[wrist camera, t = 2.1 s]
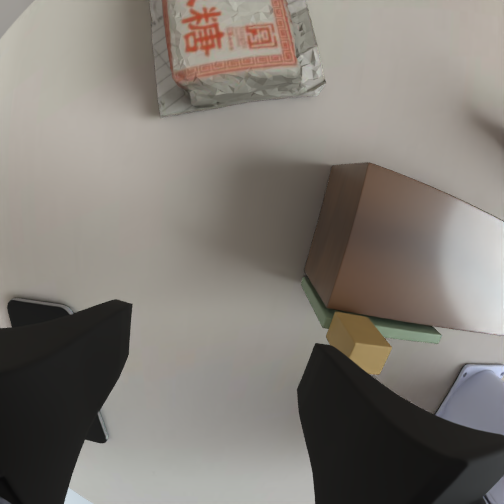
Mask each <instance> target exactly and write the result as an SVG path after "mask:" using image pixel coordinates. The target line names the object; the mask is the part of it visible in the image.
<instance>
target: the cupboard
mask: <svg viewBox="0 0 504 504" xmlns="http://www.w3.org/2000/svg"><path fill="white" fill-rule="evenodd" d="M304 271H305V273H306V275H307V276H308V278H309V279H310V281H311V283H312V284H313V286H314V288H315V289H316V291H317V293H318V294H319V296H320V298H321V299H322V301H323V302H324V304H325V306H326V307H327V308H329V309H335V310H340V311H345V312H351V313H356V314H362V315H368V316H374V317H379V318H385V319H391V320H397V321H403V322H410V323H416V324H422V325H429V326H435V327H442V328H449V329H456V330H463V331H471V332H478V333H486V334H494V335H502V336H504V221H502V220H501V219H499V218H497V217H495V216H493V215H491V214H489V213H487V212H485V211H483V210H481V209H479V208H477V207H475V206H473V205H471V204H469V203H467V202H465V201H462V200H460V199H458V198H456V197H454V196H452V195H449V194H447V193H445V192H443V191H440V190H438V189H436V188H434V187H431V186H429V185H426V184H424V183H422V182H419V181H417V180H414V179H412V178H409V177H407V176H404V175H402V174H399V173H397V172H394V171H391V170H389V169H386V168H383V167H381V166H378V165H375V164H372V163H354V164H341V165H332V168H331V172H330V176H329V180H328V184H327V188H326V192H325V196H324V200H323V203H322V207H321V211H320V215H319V218H318V222H317V226H316V229H315V233H314V237H313V240H312V244H311V247H310V251H309V254H308V258H307V261H306V265H305V268H304Z"/></svg>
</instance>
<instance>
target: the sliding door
mask: <svg viewBox="0 0 504 504" xmlns="http://www.w3.org/2000/svg"><path fill="white" fill-rule="evenodd" d="M301 286H302V288H303V290H304V292H305V294H306V296H307V298H308V300H309V302H310V303H311V305H312V307H313V309H314V311H315V313H316V315H317V317H318V319H319V321H320V323H321V325H322V327H323V328H326V329H329V330H328V332H327V335H326V338H327V340H328V342H329V344H330V345H331V346H333V347H335V348H337V349H338V350H339V351H341V352H342V353H343V354H345V355H346V356H347V357H348V358H350V359H351V360H352V361H353V362H355V363H356V364H357V365H358V366H359V367H361V368H362V369H363V370H364V371H366V372H367V373H368V374H375V375H379V374H380V372H381V370H382V368H383V366H384V364H385V362H386V360H387V358H388V356H389V353H390V351H391V349H392V347H391V346H390V344H389V343H388V342H387V341H386V339H385V338H384V337H386V338H393V339H401V340H409V341H417V342H426V343H435V344H438V343H439V341H440V339H441V337H442V335H441V334H440V333H439V332H438V331H437V330H436V329H435V328H434V327H432V326H429V325H422V324H416V323H410V322H403V321H397V320H391V319H385V318H379V317H374V316H368V315H362V314H356V313H351V312H345V311H340V310H335V309H329V308H327V307H326V306H325V304H324V302H323V301H322V299H321V298H320V296H319V294H318V293H317V291H316V289H315V288H314V286H313V284H312V283H311V281H310V279H309V278H308V277H303V279H302V282H301Z"/></svg>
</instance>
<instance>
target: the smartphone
mask: <svg viewBox="0 0 504 504" xmlns="http://www.w3.org/2000/svg"><path fill="white" fill-rule="evenodd" d="M7 309H8V314H9V318H10V321H11V325H12V327H21V326H27V325H32V324H38V323H42V322H46V321H50V320H53V319H57V318H60V317H63V316H67V315H70V314H73V312H72V311H71V309H70V308H68V307H67V306H65V305H62V304H55V303H47V302H40V301H33V300H27V299H20V298H13V299H12V300H10V301H9V303H8V306H7ZM85 439H86V440H89V441H93V442H97V443H105V442H106V441H107V439H108V434H107V431H106V429H105V426H104V423H103V420H102V417H101V414H100V411H99V412H98V414H97V416H96V418H95V419H94V421H93V423H92V425H91V427H90V429H89V431H88V433H87V435H86V438H85Z"/></svg>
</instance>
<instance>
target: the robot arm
mask: <svg viewBox="0 0 504 504" xmlns="http://www.w3.org/2000/svg"><path fill="white" fill-rule="evenodd" d="M131 314H132V304H130V303H127V302H123V301H120V300H116V299H115V300H111V301H108V302H105V303H102V304H99V305H96V306H93V307H90V308H88V309H85V310H82V311H79V312H76V313H73V314H70V315H67V316H63V317H60V318H57V319H53V320H50V321H46V322H42V323H38V324H32V325H27V326H21V327H12V328H0V504H64V501H65V497H66V494H67V490H68V487H69V483H70V480H71V476H72V473H73V470H74V468H75V465H76V462H77V459H78V456H79V453H80V451H81V448H82V446H83V443H84V440H85V438H86V435H87V433H88V431H89V429H90V427H91V425H92V423H93V421H94V419H95V418H96V416H97V414H98V412H99V411H100V409H101V407H102V406H103V404H104V402H105V401H106V399H107V397H108V396H109V394H110V392H111V390H112V389H113V387H114V385H115V384H116V382H117V380H118V379H119V377H120V374H121V372H122V370H123V367H124V365H125V362H126V360H127V358H128V355H129V340H130V326H131ZM503 375H504V365H480V364H467V365H465V366H464V367H463V369H462V370H461V372H460V374H459V376H458V378H457V380H456V381H455V383H454V385H453V387H452V388H451V390H450V392H449V393H448V395H447V397H446V398H445V400H444V402H443V403H442V405H441V406H440V408H439V410H438V411H437V413H436V414H435V415H434V414H432V413H429V412H427V411H425V410H423V409H421V408H419V407H417V406H416V405H414V404H412V403H410V402H409V401H407V400H405V399H403V398H402V397H400V396H399V395H397V394H395V393H394V392H393V391H391V390H390V389H388V388H387V387H385V386H384V385H383V384H381V383H380V382H379V381H377V380H376V379H375V378H373V377H372V376H371V375H369V374H368V373H367V372H366V371H364V370H363V369H362V368H361V367H359V366H358V365H357V364H356V363H355V362H353V361H352V360H351V359H350V358H348V357H347V356H346V355H345V354H343V353H342V352H341V351H339V350H338V349H337V348H335V347H333V346H331V345H325V344H318V343H315V346H314V348H313V351H312V354H311V356H310V359H309V361H308V364H307V366H306V369H305V371H304V374H303V376H302V379H301V381H300V384H299V386H298V389H297V394H298V408H299V415H300V420H301V424H302V429H303V433H304V437H305V441H306V445H307V449H308V454H309V458H310V462H311V467H312V472H313V481H314V492H315V504H504V381H503V380H502V379H501V378H502V376H503Z"/></svg>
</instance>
